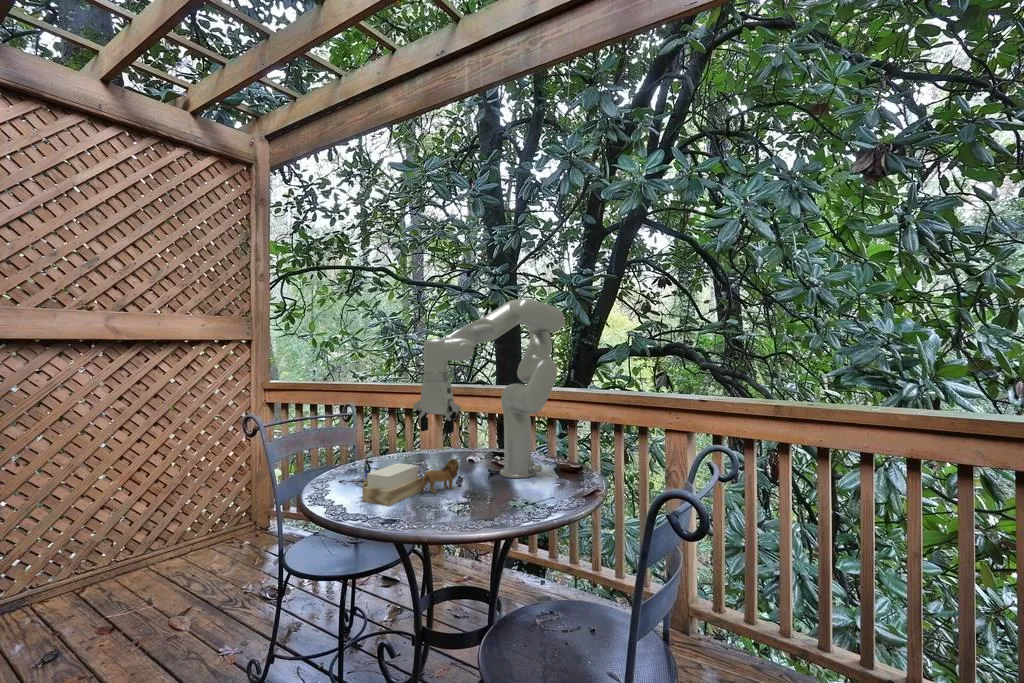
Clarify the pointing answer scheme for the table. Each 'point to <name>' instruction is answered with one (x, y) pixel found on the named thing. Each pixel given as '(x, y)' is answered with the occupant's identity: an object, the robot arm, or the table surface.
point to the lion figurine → (441, 476)
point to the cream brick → (392, 476)
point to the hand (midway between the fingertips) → (436, 431)
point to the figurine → (366, 471)
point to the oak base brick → (392, 493)
